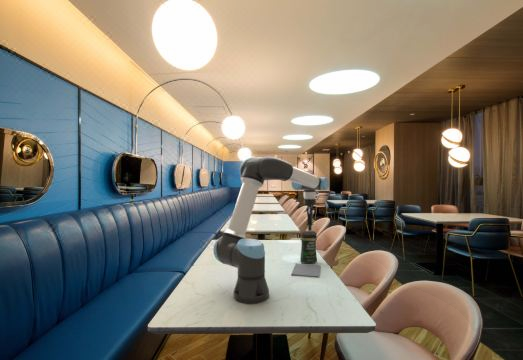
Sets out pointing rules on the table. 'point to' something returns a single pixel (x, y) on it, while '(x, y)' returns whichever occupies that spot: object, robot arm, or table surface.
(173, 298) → the table surface
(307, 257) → the coffee jar
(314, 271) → the mat
